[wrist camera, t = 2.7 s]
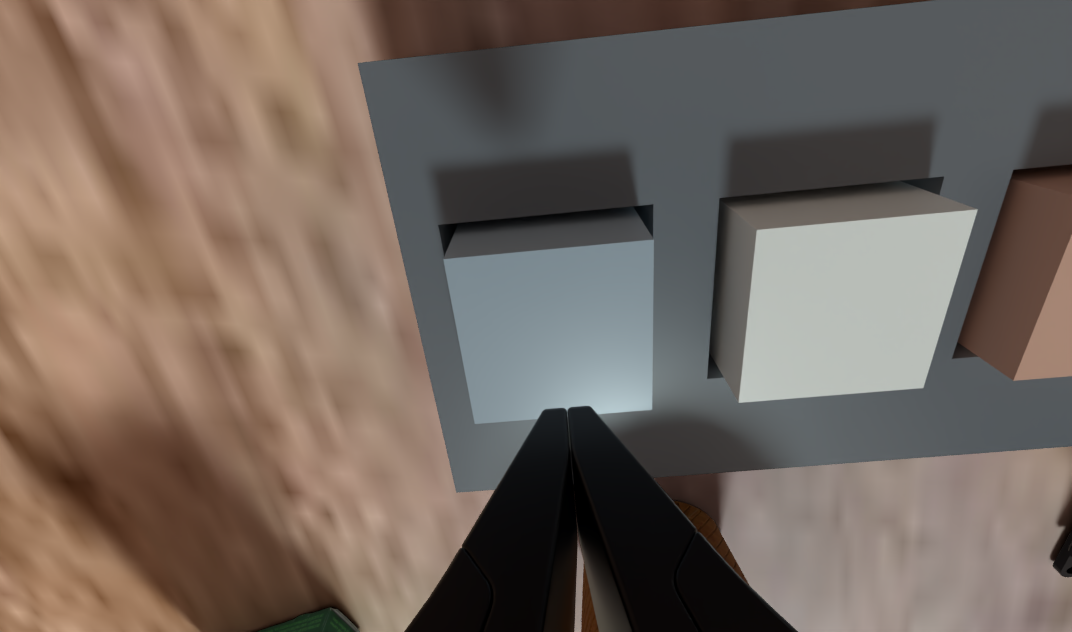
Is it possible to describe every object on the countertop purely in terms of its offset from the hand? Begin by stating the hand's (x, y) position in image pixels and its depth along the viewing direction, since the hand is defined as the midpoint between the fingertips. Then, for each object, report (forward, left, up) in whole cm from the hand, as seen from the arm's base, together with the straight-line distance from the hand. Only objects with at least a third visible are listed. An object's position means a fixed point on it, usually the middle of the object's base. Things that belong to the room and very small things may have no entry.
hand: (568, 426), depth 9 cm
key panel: (-6, 0, -9) cm, 11 cm away
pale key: (-6, 0, -7) cm, 9 cm away
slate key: (0, 0, -7) cm, 7 cm away
